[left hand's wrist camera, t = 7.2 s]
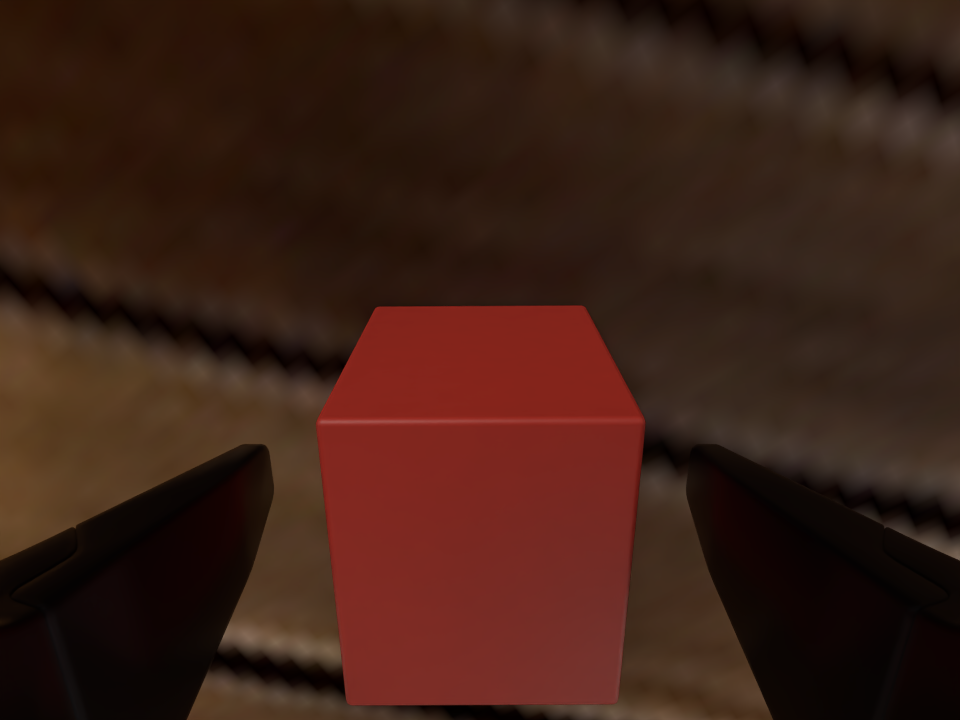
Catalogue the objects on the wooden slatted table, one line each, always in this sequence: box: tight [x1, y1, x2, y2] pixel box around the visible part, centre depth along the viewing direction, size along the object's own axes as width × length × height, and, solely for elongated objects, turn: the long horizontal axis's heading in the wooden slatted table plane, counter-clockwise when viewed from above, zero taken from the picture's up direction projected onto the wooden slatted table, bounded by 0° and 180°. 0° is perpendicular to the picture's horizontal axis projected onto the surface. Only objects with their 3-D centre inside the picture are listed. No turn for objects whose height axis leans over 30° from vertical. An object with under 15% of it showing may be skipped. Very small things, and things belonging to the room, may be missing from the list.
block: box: [316, 306, 646, 705], centre depth 11 cm, size 4×5×5 cm
